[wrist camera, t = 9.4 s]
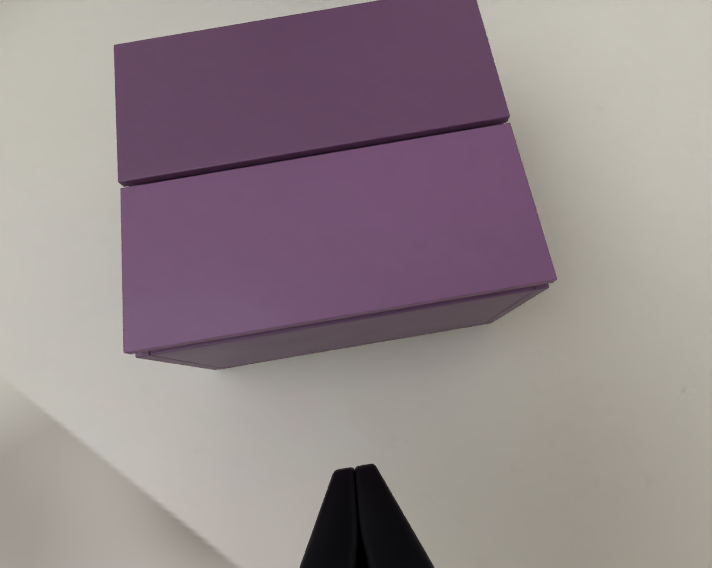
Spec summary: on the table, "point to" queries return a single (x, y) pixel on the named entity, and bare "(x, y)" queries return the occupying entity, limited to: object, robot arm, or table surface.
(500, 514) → the table surface
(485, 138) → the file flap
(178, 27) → the table surface
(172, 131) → the box
